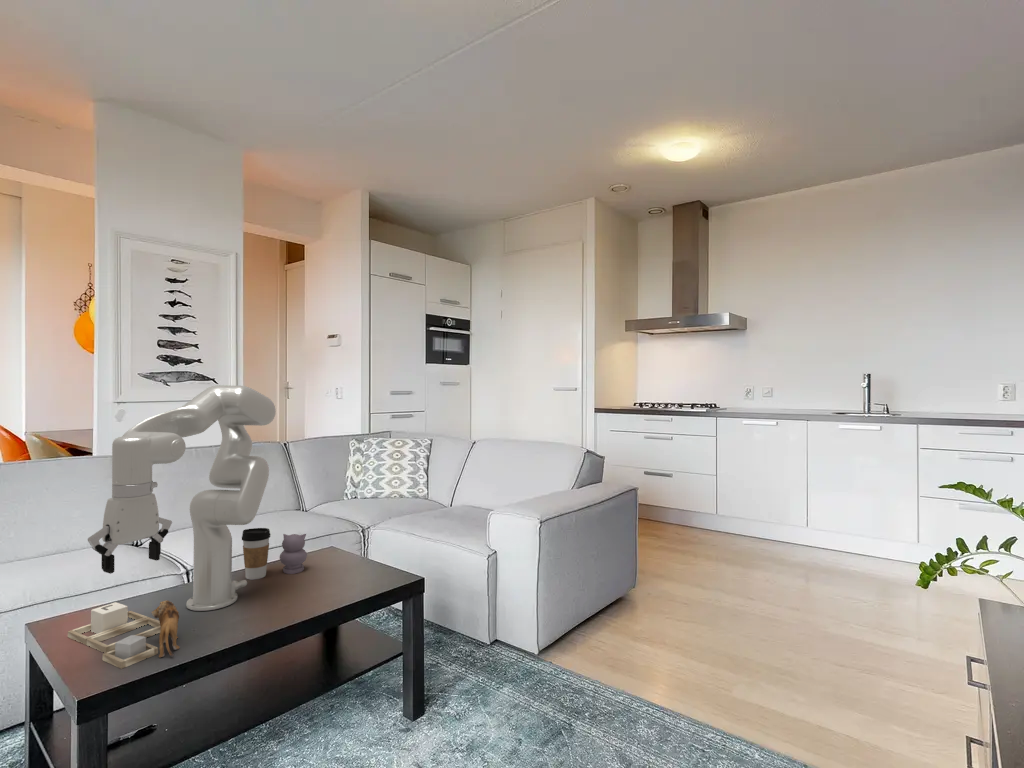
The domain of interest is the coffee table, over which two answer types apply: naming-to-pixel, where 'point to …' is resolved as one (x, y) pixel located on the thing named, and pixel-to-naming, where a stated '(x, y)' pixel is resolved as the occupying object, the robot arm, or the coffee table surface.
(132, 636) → the grey block
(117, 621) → the letter cube
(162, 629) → the lion figurine
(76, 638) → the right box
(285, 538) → the cat figurine
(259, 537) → the coffee cup
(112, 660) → the small box
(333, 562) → the coffee table surface
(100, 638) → the middle box
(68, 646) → the coffee table surface
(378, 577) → the coffee table surface
